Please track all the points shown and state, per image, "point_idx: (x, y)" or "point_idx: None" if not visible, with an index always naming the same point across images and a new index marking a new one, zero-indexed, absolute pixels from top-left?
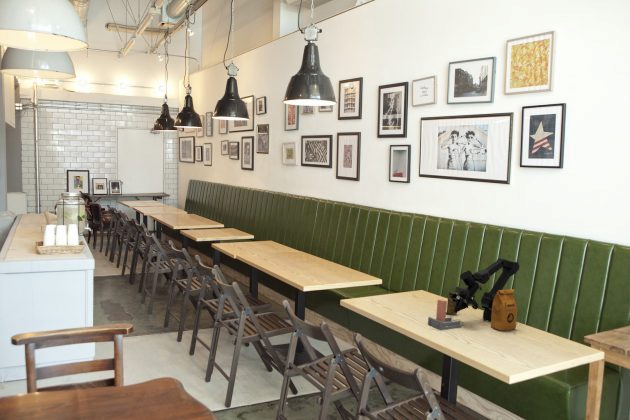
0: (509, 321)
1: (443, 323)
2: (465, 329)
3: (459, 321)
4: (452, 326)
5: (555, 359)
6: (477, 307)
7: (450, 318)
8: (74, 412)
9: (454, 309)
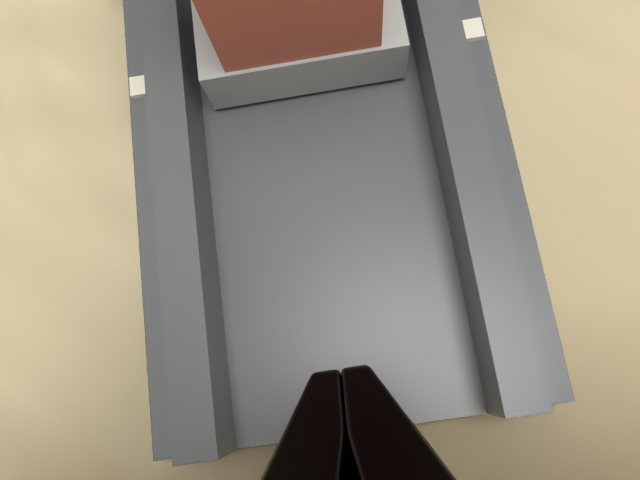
0: None
1: None
2: (40, 445)
3: (171, 425)
4: (136, 202)
5: None
6: None
7: (492, 382)
8: None
9: (377, 410)
